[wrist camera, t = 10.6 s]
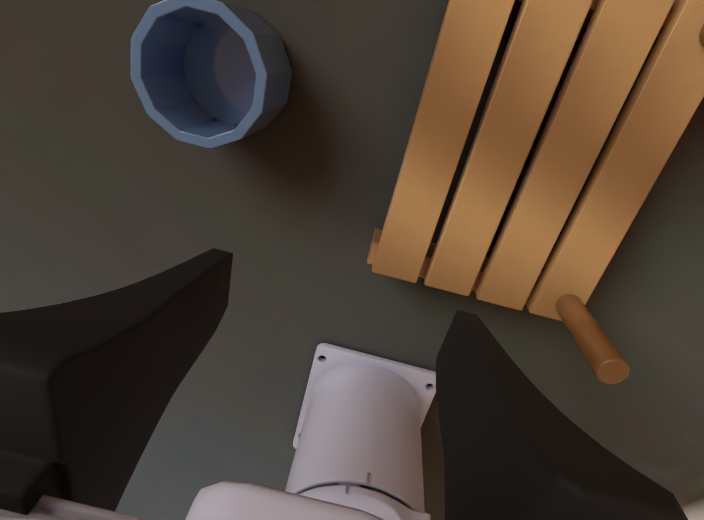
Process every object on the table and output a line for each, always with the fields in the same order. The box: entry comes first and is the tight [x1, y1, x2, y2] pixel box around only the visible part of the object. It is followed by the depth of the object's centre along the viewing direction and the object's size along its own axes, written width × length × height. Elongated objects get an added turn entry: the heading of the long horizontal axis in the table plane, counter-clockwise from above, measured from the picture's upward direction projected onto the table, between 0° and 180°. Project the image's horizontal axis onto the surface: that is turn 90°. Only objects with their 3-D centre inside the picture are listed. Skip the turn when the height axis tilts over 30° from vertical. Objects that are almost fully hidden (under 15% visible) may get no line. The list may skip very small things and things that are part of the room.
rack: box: [367, 0, 704, 384], centre depth 17 cm, size 14×11×8 cm
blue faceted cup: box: [131, 0, 292, 149], centre depth 19 cm, size 6×6×4 cm
